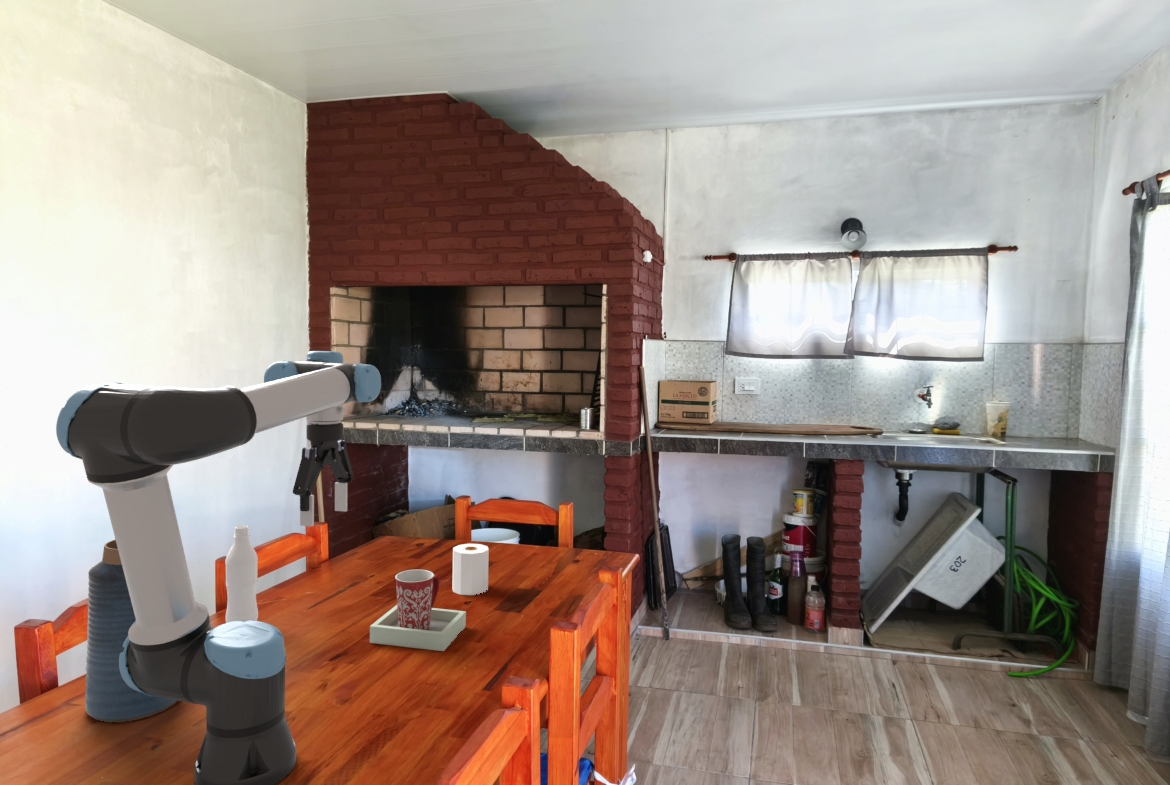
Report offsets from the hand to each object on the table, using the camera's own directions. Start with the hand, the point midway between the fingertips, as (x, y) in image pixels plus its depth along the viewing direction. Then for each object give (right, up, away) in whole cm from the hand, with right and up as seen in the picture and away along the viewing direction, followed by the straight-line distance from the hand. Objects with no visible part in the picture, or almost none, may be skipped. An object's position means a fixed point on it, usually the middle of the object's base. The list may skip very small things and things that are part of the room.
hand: (324, 518), depth 155 cm
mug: (+17, -30, +16) cm, 38 cm away
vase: (-29, -33, -19) cm, 48 cm away
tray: (+17, -31, +16) cm, 39 cm away
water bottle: (-27, -30, +17) cm, 44 cm away
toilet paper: (+24, -29, +48) cm, 61 cm away
